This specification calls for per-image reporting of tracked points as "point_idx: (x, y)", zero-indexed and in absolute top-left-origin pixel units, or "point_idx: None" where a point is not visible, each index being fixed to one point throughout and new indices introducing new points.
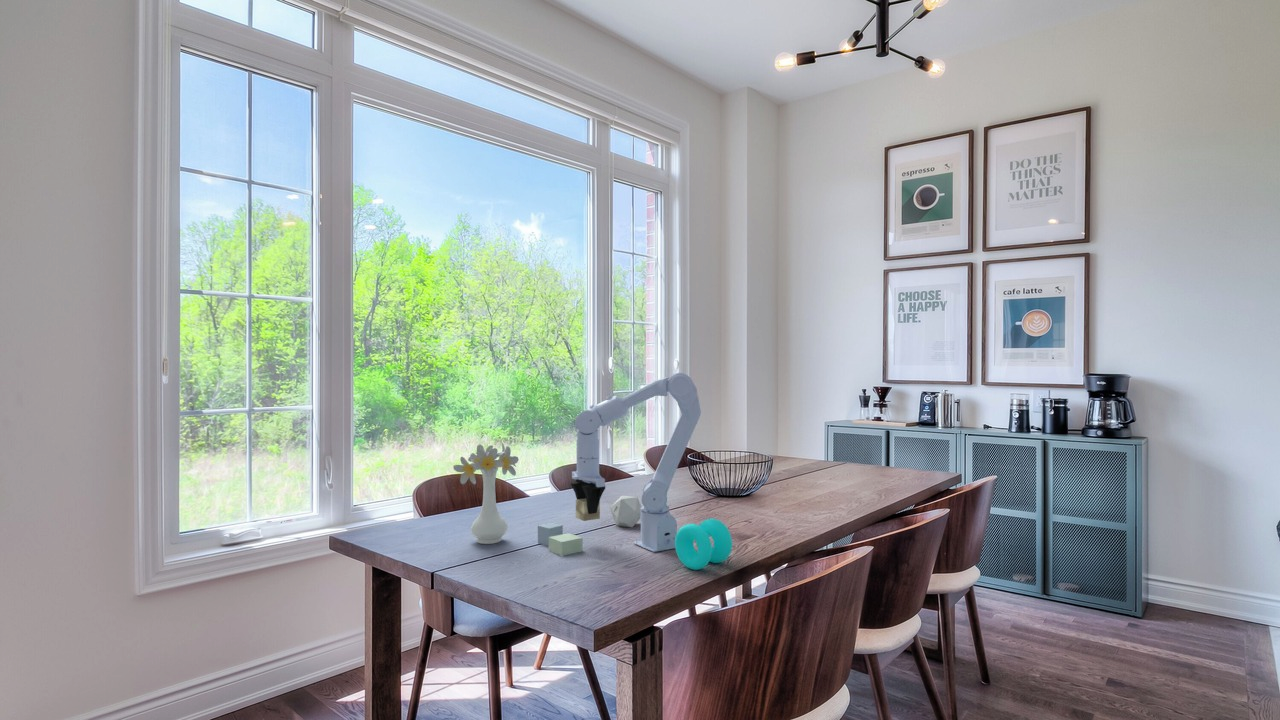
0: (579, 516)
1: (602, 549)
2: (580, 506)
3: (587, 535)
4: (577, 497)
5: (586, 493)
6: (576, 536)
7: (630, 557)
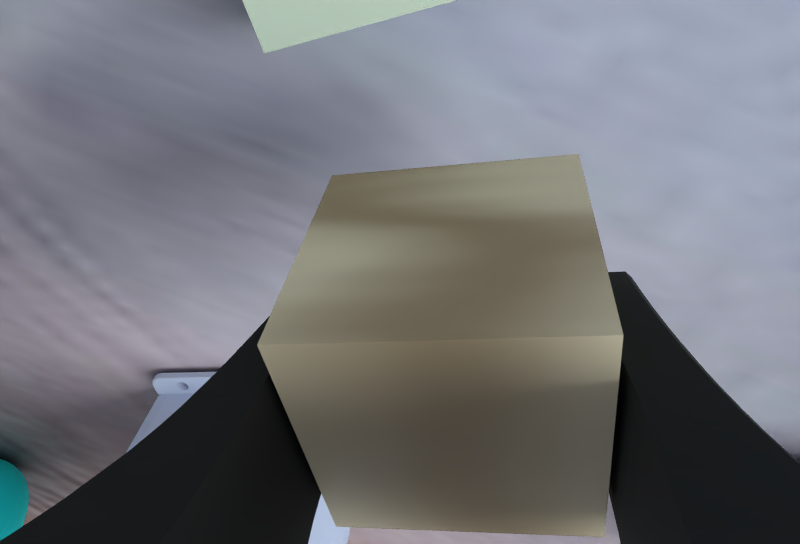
0: (454, 182)
1: (303, 175)
2: (409, 279)
3: (755, 226)
4: (659, 403)
5: (74, 534)
6: (341, 10)
7: (81, 249)
